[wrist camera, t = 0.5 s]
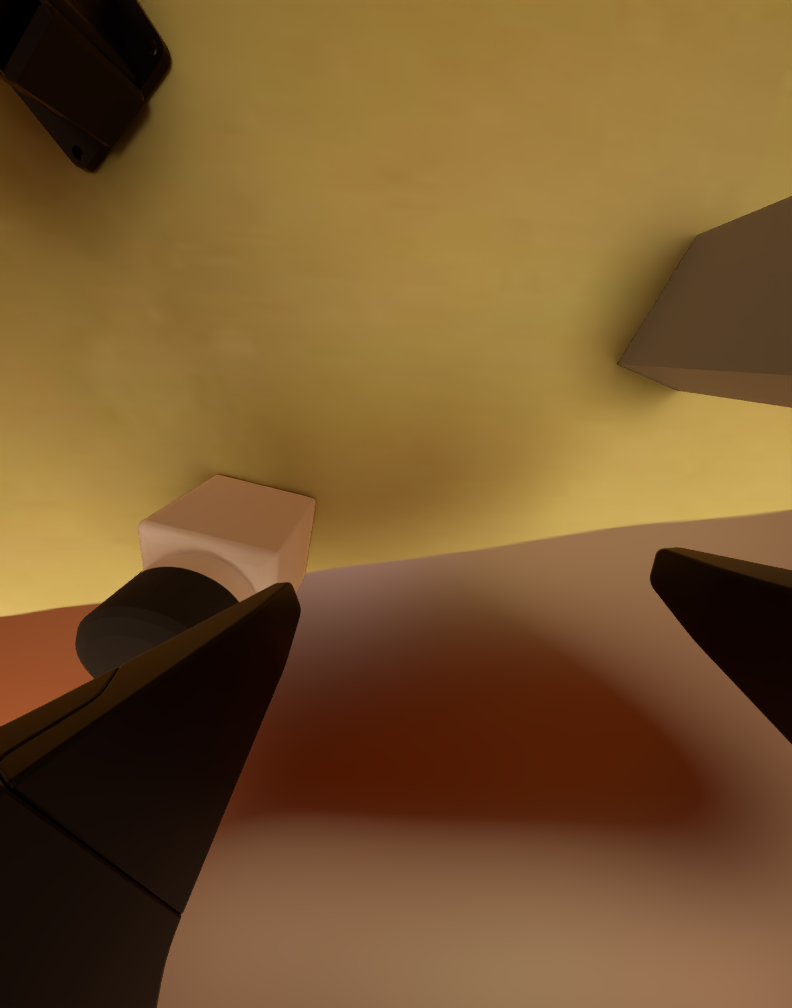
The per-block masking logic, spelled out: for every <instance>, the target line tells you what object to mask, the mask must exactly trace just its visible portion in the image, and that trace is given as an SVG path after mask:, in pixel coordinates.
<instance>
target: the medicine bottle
mask: <svg viewBox="0 0 792 1008" xmlns="http://www.w3.org/2000/svg"><path fill="white" fill-rule="evenodd" d="M315 505H316V501H315V499H313V498H311V497H307V496H303V495H299V494H295V493H291V492H287V491H283V490H279V489H275V488H271V487H267V486H263V485H259V484H255V483H251V482H247V481H243V480H239V479H235V478H231V477H226V476H222V475H215V476H213V477H212V478H210V479H209V480H207V481H205V482H204V483H202V484H201V485H199V486H197V487H196V488H194V489H193V490H191V491H189V492H188V493H186V494H185V495H183V496H181V497H180V498H178V499H177V500H175V501H173V502H172V503H170V504H169V505H167V506H165V507H164V508H162V509H160V510H159V511H157V512H156V513H154V514H152V515H151V516H149V517H148V518H146V519H144V520H143V521H141V522H140V523H139V524H138V532H139V539H140V547H141V554H142V562H143V571H142V572H140V573H139V574H138V575H137V576H135V577H134V578H133V579H132V580H130V581H129V582H128V583H127V584H125V585H124V586H123V587H122V588H120V589H119V590H118V591H117V592H116V593H114V594H113V595H112V596H111V597H109V598H108V599H107V600H106V601H104V602H103V603H102V604H101V605H99V606H98V607H97V608H96V609H94V610H93V611H92V612H91V613H89V614H88V615H87V616H86V617H85V618H84V619H83V620H82V621H81V622H80V624H79V627H78V630H77V636H76V651H77V654H78V657H79V659H80V661H81V663H82V664H83V666H84V667H85V669H86V670H87V671H88V672H89V673H90V674H91V676H92V677H93V678H94V679H95V678H97V677H99V676H101V675H102V674H104V673H106V672H108V671H110V670H112V669H114V668H116V667H118V668H120V666H121V665H123V664H124V663H126V662H128V661H130V660H132V659H134V658H136V657H138V656H139V655H141V654H143V653H145V652H147V651H149V650H151V649H153V648H154V647H156V646H158V645H160V644H162V643H164V642H166V641H168V640H170V639H171V638H173V637H175V636H177V635H179V634H181V633H183V632H185V631H186V630H188V629H190V628H192V627H194V626H196V625H198V624H200V623H201V622H203V621H205V620H207V619H209V618H211V617H213V616H215V615H216V614H218V613H220V612H222V611H224V610H226V609H228V608H230V607H231V606H233V605H235V604H237V603H239V602H241V601H243V600H245V599H247V598H248V597H250V596H252V595H254V594H256V593H258V592H260V591H262V590H263V589H265V588H267V587H269V586H271V585H273V584H275V583H282V582H290V583H291V584H292V585H293V587H294V590H295V593H296V592H297V590H298V587H299V585H300V584H301V581H302V580H303V577H304V575H305V570H306V564H307V557H308V551H309V544H310V538H311V531H312V525H313V518H314V512H315Z"/></svg>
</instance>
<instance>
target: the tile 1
mask: <svg viewBox="0 0 792 1008" xmlns="http://www.w3.org/2000/svg"><path fill="white" fill-rule="evenodd" d="M618 365H620V366H622V367H625V368H627V369H629V370H632V371H634V372H636V373H639V374H641V375H643V376H645V377H648V378H650V379H652V380H655V381H657V382H659V383H662V384H664V385H666V386H669V387H671V388H673V389H676V390H678V391H684V392H691V393H697V394H704V395H711V396H717V397H724V398H731V399H738V400H744V401H751V402H758V403H764V404H771V405H778V406H784V407H791V408H792V196H791V197H788V198H786V199H784V200H781V201H779V202H776V203H774V204H771V205H769V206H767V207H764V208H762V209H759V210H757V211H754V212H752V213H750V214H747V215H745V216H742V217H740V218H738V219H735V220H733V221H730V222H728V223H725V224H723V225H721V226H718V227H716V228H713V229H711V230H709V231H706V232H704V233H701V234H699V235H697V237H696V238H695V240H694V241H693V243H692V245H691V246H690V248H689V249H688V251H687V253H686V254H685V256H684V257H683V259H682V261H681V262H680V264H679V266H678V267H677V269H676V270H675V272H674V274H673V275H672V277H671V278H670V280H669V282H668V283H667V285H666V286H665V288H664V290H663V291H662V293H661V295H660V296H659V298H658V299H657V301H656V303H655V304H654V306H653V307H652V309H651V311H650V312H649V314H648V315H647V317H646V319H645V320H644V322H643V324H642V325H641V327H640V328H639V330H638V332H637V333H636V335H635V336H634V338H633V340H632V341H631V343H630V344H629V346H628V348H627V349H626V351H625V353H624V354H623V356H622V357H621V359H620V361H619V362H618Z"/></svg>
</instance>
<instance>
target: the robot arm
mask: <svg viewBox="0 0 792 1008" xmlns="http://www.w3.org/2000/svg"><path fill="white" fill-rule="evenodd" d="M154 45H157V52H156V54H155V55H152V48H153V46H154ZM169 63H170V55H169V50H168V48H167V46H166V44H165V42H164V41H163V39H162V38H161V36H160V34H159V33H158V31H157V30H156V28H155V27H154V25H153V24H152V22H151V20H150V19H149V17H148V16H147V14H146V13H145V11H144V10H143V8H142V6H141V5H140V3H139V2H138V0H0V79H2V80H3V81H5V82H6V83H8V84H10V85H11V86H12V87H13V89H14V90H15V91H16V92H17V94H18V95H19V96H20V97H21V99H22V100H23V101H24V102H25V104H26V105H27V106H28V107H29V109H30V110H31V111H32V112H33V114H34V115H35V116H36V117H37V119H38V120H39V121H40V122H41V124H42V125H43V126H44V127H45V129H46V130H47V131H48V132H49V134H50V135H51V136H52V137H53V139H54V140H55V141H56V142H57V144H58V145H59V146H60V147H61V149H62V150H63V151H64V152H65V153H66V155H67V156H68V157H69V158H70V160H71V161H72V162H73V163H74V164H75V165H76V166H78V167H80V168H82V169H83V170H85V171H87V172H93V171H94V170H95V169H96V168H97V167H98V165H99V164H100V162H101V161H102V160H103V158H104V157H105V155H106V154H107V153H108V151H109V150H110V148H111V147H112V146H113V145H114V143H115V142H116V141H117V139H118V138H119V136H120V135H121V134H122V132H123V131H124V129H125V128H126V127H127V125H128V124H129V122H130V121H131V120H132V118H133V117H134V115H135V114H136V113H137V111H138V110H139V108H140V107H141V106H142V104H143V102H144V101H145V99H146V98H147V96H148V95H149V94H150V92H151V91H152V89H153V88H154V87H155V85H156V84H157V82H158V81H159V80H160V78H161V77H162V75H163V74H164V73H165V71H166V70H167V68H168V66H169ZM81 151H83V155H84V157H83V160H82V159H81V156H80V154H81ZM650 581H651V585H652V587H653V589H654V590H655V591H656V593H657V594H658V595H659V596H660V598H661V599H662V600H663V602H664V603H665V604H666V605H667V607H668V608H669V609H670V611H671V612H672V613H673V614H674V616H675V617H676V618H677V620H678V621H679V622H680V623H681V625H682V626H683V627H684V629H685V630H686V631H687V632H688V633H689V635H690V636H691V637H692V638H693V640H694V641H695V642H696V643H697V644H698V645H699V646H700V647H701V648H702V649H703V651H704V652H705V653H706V654H707V655H708V656H709V657H710V658H711V659H712V660H713V661H714V662H715V663H716V664H717V665H718V667H720V669H721V670H722V671H723V672H724V673H725V674H726V675H727V676H728V677H729V678H730V679H731V680H732V681H733V682H734V683H735V684H736V686H737V687H738V688H739V689H740V690H741V691H742V692H743V693H744V694H745V695H746V696H747V697H748V698H749V699H750V700H751V702H753V703H754V705H755V706H756V707H757V708H758V709H759V710H760V711H761V712H762V713H763V714H764V715H765V716H766V717H767V718H768V720H769V721H770V722H771V723H772V724H773V725H774V726H775V727H776V728H777V729H778V730H779V731H780V732H781V733H782V734H783V735H784V737H785V738H786V739H787V740H788V741H789V742H790V743H791V744H792V570H787V569H783V568H778V567H772V566H768V565H763V564H758V563H753V562H748V561H744V560H739V559H734V558H729V557H724V556H719V555H714V554H709V553H704V552H700V551H695V550H690V549H685V548H679V547H674V548H663V549H660V550H658V551H657V553H656V555H655V559H654V563H653V567H652V571H651V574H650ZM300 612H301V608H300V604H299V601H298V598H297V595H296V593H295V590H294V587H293V585H292V584H291V583H290V582H282V583H275V584H273V585H271V586H269V587H267V588H265V589H263V590H262V591H260V592H258V593H256V594H254V595H252V596H250V597H248V598H247V599H245V600H243V601H241V602H239V603H237V604H235V605H233V606H231V607H230V608H228V609H226V610H224V611H222V612H220V613H218V614H216V615H215V616H213V617H211V618H209V619H207V620H205V621H203V622H201V623H200V624H198V625H196V626H194V627H192V628H190V629H188V630H186V631H185V632H183V633H181V634H179V635H177V636H175V637H173V638H171V639H170V640H168V641H166V642H164V643H162V644H160V645H158V646H156V647H154V648H153V649H151V650H149V651H147V652H145V653H143V654H141V655H139V656H138V657H136V658H134V659H132V660H130V661H128V662H126V663H124V664H123V665H121V666H120V668H118V667H116V668H114V669H112V670H110V671H108V672H106V673H104V674H102V675H101V676H99V677H97V678H95V679H93V680H91V681H89V682H87V683H85V684H84V685H81V686H79V687H78V688H76V689H74V690H72V691H70V692H68V693H66V694H64V695H62V696H60V697H58V698H56V699H55V700H52V701H50V702H48V703H47V704H45V705H43V706H41V707H39V708H37V709H35V710H33V711H31V712H29V713H27V714H25V715H23V716H21V717H19V718H17V719H15V720H13V721H11V722H9V723H7V724H5V725H3V726H0V1008H157V1004H158V998H159V992H160V987H161V981H162V977H163V972H164V967H165V963H166V960H167V956H168V953H169V949H170V946H171V943H172V940H173V938H174V935H175V932H176V929H177V927H178V924H179V922H180V919H181V914H182V913H183V912H184V910H185V907H186V905H187V902H188V900H189V897H190V895H191V892H192V890H193V888H194V885H195V883H196V881H197V878H198V876H199V873H200V871H201V868H202V866H203V863H204V861H205V859H206V856H207V854H208V852H209V849H210V847H211V844H212V842H213V839H214V837H215V834H216V832H217V830H218V827H219V825H220V823H221V820H222V818H223V815H224V813H225V810H226V808H227V805H228V803H229V801H230V798H231V796H232V794H233V791H234V789H235V786H236V784H237V781H238V779H239V777H240V774H241V772H242V769H243V767H244V764H245V762H246V760H247V757H248V755H249V752H250V750H251V748H252V745H253V743H254V740H255V738H256V735H257V733H258V731H259V728H260V726H261V723H262V721H263V719H264V716H265V714H266V711H267V709H268V707H269V704H270V702H271V699H272V697H273V694H274V692H275V690H276V687H277V685H278V682H279V680H280V678H281V675H282V673H283V670H284V667H285V665H286V662H287V659H288V656H289V652H290V649H291V645H292V642H293V639H294V635H295V632H296V628H297V625H298V621H299V618H300Z"/></svg>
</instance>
